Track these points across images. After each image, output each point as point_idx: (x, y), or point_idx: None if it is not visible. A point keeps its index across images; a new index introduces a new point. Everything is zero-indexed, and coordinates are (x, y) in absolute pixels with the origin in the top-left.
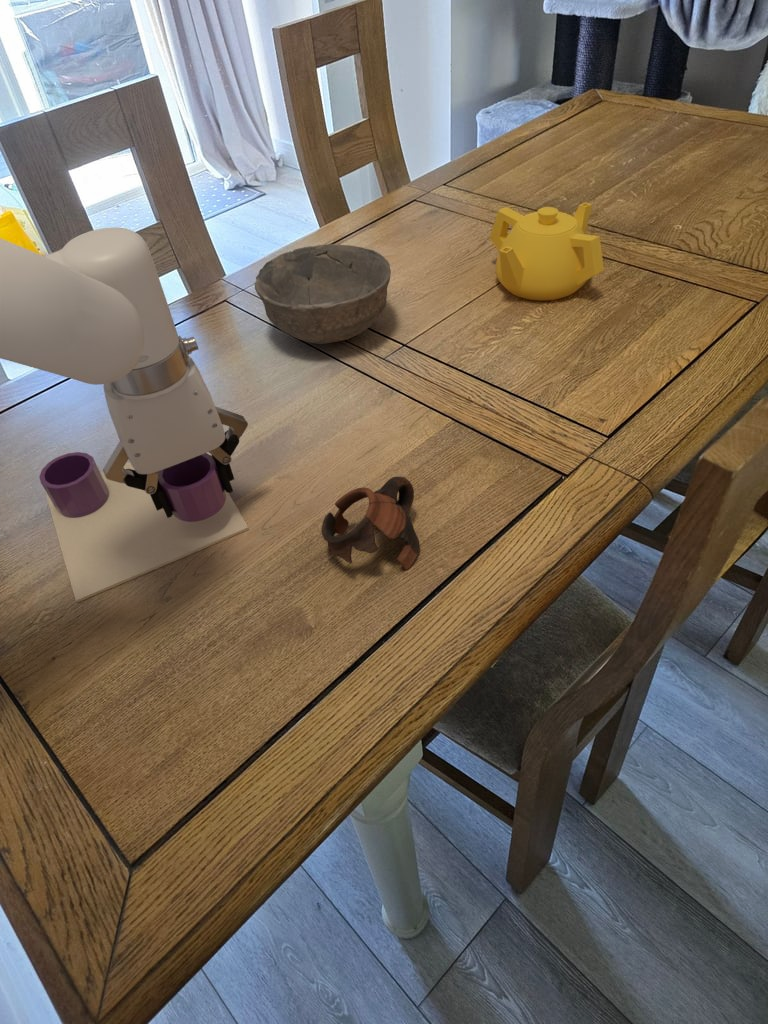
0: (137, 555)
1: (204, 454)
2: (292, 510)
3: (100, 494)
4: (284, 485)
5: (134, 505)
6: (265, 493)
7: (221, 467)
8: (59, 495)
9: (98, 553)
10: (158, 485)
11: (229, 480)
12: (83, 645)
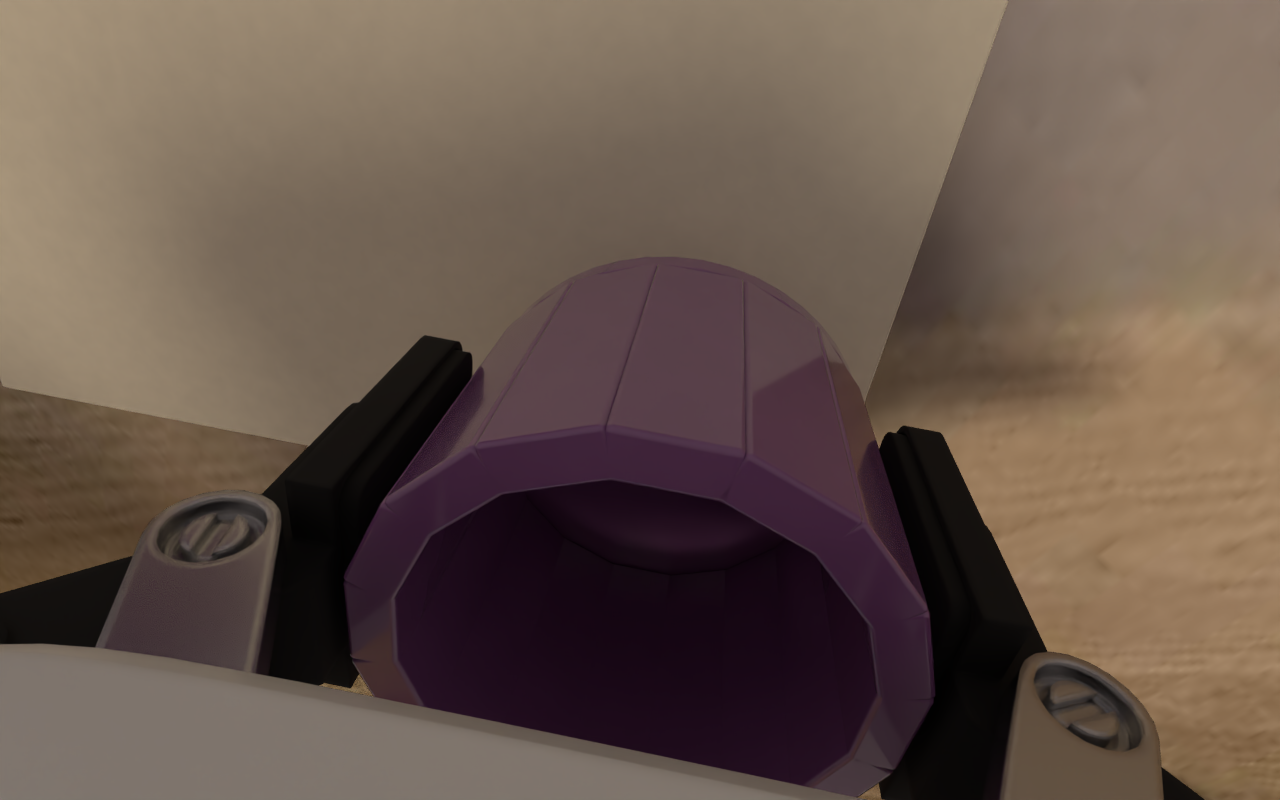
0: (288, 340)
1: (898, 646)
2: (1048, 573)
3: None
4: (1191, 416)
5: None
6: (1065, 394)
7: (895, 795)
8: None
9: (88, 180)
10: (330, 671)
11: None
12: (64, 554)
